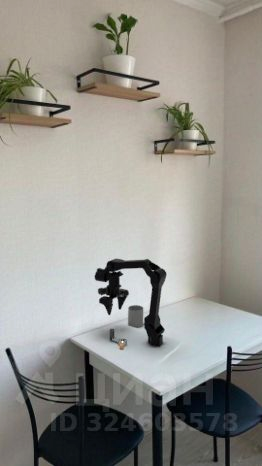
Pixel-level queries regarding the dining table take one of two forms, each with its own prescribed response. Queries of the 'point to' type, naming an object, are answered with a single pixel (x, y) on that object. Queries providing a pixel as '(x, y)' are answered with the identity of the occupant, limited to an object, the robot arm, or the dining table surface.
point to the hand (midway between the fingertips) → (114, 312)
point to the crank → (117, 338)
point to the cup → (135, 316)
